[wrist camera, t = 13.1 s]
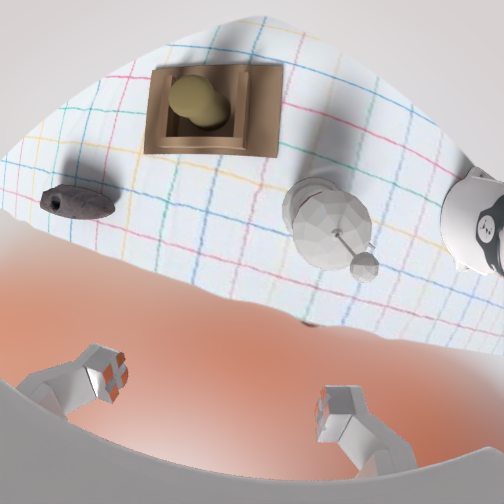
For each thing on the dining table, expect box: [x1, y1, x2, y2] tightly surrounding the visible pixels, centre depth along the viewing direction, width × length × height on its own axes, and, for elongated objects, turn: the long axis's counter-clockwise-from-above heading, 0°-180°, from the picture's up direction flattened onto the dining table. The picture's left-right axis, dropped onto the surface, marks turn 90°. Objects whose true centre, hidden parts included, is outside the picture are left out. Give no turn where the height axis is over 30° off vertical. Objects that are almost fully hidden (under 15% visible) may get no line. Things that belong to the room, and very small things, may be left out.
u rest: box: [144, 65, 283, 158], centre depth 34 cm, size 20×14×6 cm
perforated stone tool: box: [40, 184, 115, 220], centre depth 39 cm, size 15×5×7 cm, turn 76°
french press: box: [282, 178, 379, 283], centre depth 28 cm, size 10×12×25 cm
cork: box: [168, 74, 231, 131], centre depth 30 cm, size 6×6×11 cm
